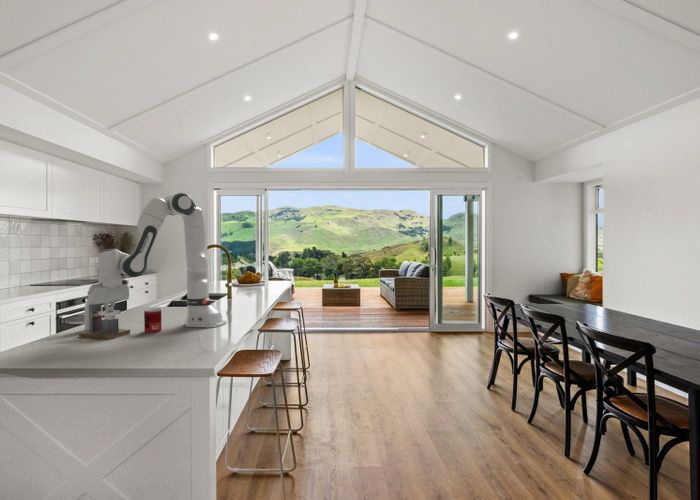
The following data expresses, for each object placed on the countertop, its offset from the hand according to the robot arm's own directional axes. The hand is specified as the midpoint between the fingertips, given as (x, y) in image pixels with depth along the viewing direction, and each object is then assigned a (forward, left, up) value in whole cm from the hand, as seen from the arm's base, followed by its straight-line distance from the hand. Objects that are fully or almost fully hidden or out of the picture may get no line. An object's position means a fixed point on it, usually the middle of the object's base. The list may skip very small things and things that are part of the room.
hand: (109, 311), depth 205 cm
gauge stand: (+3, 0, -12) cm, 13 cm away
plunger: (+2, 0, -8) cm, 8 cm away
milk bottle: (+19, -7, -12) cm, 24 cm away
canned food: (-12, -15, -12) cm, 23 cm away
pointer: (+7, 0, -2) cm, 8 cm away
